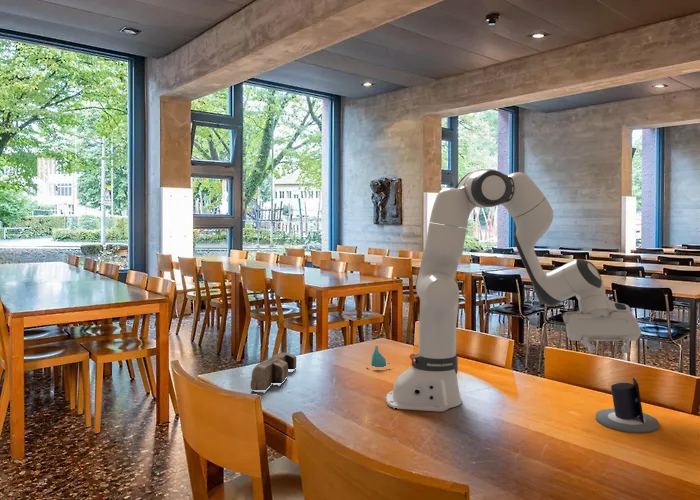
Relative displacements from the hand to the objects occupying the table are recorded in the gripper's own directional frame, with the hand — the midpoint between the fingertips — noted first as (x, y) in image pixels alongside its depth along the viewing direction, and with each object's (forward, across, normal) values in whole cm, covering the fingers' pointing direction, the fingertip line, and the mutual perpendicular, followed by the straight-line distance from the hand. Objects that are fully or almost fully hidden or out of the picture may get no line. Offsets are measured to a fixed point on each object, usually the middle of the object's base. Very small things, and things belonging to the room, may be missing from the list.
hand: (609, 352), depth 158 cm
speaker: (+18, 0, +3) cm, 19 cm away
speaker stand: (+19, 0, +4) cm, 19 cm away
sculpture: (-8, -101, +32) cm, 106 cm away
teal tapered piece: (-20, -63, +45) cm, 80 cm away
